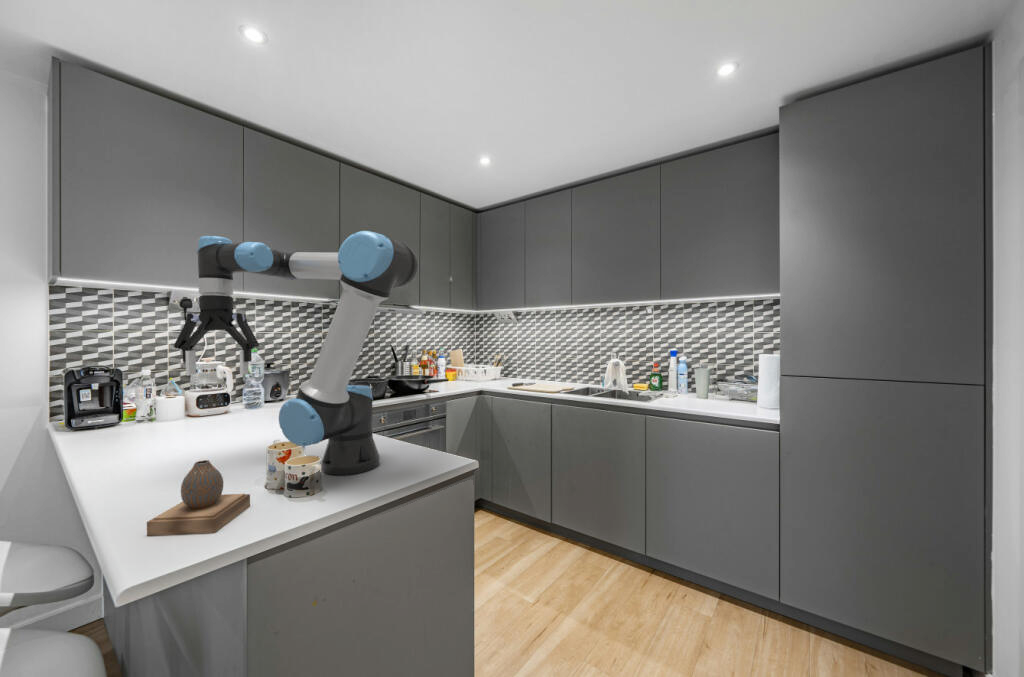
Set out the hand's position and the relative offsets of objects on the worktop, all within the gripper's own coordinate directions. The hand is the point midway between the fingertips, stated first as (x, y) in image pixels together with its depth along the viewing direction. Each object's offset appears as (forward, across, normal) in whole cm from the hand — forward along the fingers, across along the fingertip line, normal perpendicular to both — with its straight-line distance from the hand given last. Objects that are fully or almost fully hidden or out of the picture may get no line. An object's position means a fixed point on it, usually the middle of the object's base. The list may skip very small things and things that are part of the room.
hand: (217, 374), depth 110 cm
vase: (+24, -14, +29) cm, 40 cm away
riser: (+27, -14, +29) cm, 42 cm away
